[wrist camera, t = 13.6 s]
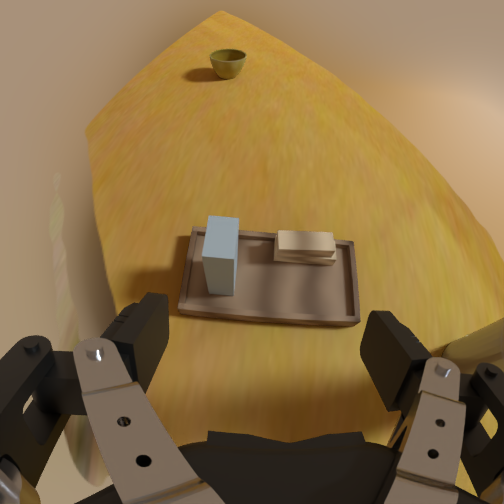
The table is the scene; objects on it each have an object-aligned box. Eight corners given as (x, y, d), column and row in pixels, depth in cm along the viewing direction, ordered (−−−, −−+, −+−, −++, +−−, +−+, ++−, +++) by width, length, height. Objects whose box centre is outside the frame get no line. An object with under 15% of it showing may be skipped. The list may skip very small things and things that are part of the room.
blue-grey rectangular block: (237, 262, 43) (238, 218, 33) (233, 296, 40) (234, 259, 30) (213, 260, 43) (208, 215, 33) (209, 293, 40) (201, 256, 30)
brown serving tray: (348, 249, 47) (353, 241, 44) (353, 326, 40) (360, 321, 38) (194, 235, 46) (192, 226, 44) (180, 313, 40) (177, 308, 38)
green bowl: (251, 79, 72) (253, 58, 66) (218, 86, 69) (218, 63, 63) (236, 66, 76) (237, 46, 70) (205, 72, 73) (204, 52, 67)
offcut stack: (331, 246, 45) (339, 233, 41) (332, 267, 43) (341, 254, 40) (274, 241, 45) (277, 226, 41) (273, 262, 43) (277, 249, 39)
